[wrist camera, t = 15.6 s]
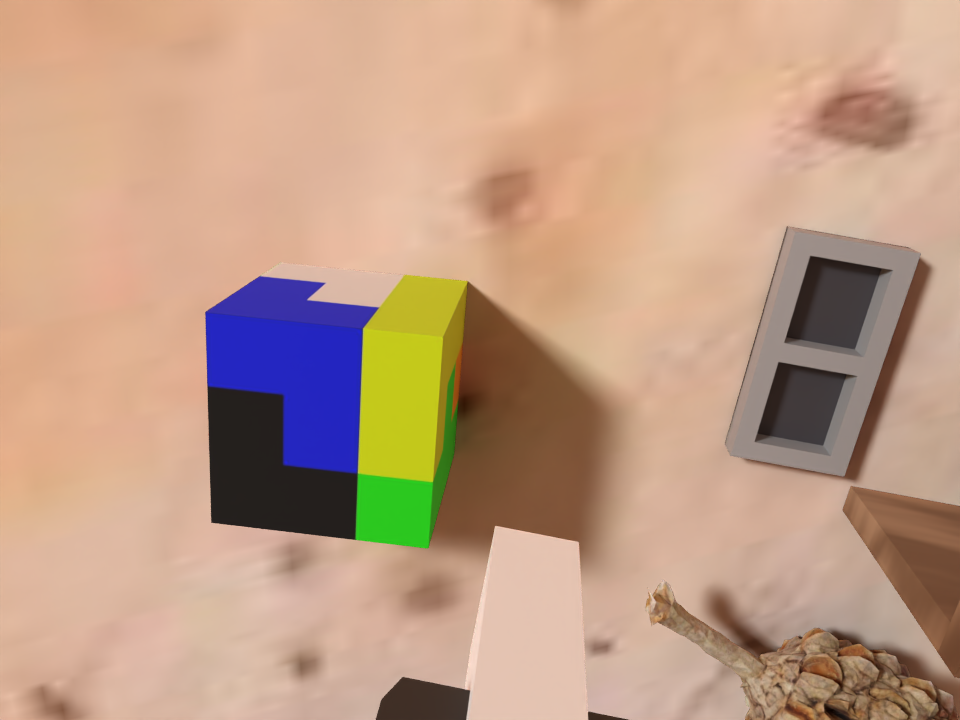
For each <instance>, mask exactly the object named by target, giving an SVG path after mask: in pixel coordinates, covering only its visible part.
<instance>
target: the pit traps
mask: <svg viewBox="0 0 960 720" xmlns="http://www.w3.org/2000/svg"><path fill="white" fill-rule="evenodd" d="M920 255H921V253H919V252H917V251H915V250H912V249H910V248H908V247H902V246H896V245H891V244H885V243H879V242H874V241H868V240H862V239H857V238H851V237H845V236H839V235H834V234H828V233H822V232H817V231H811V230H805V229H799V228H794V227H788V226H787V229H786V232H785V236H784V239H783V243H782V246H781V250H780V253H779V257H778V260H777V264H776V267H775V271H774V274H773V278H772V281H771V285H770V288H769V292H768V295H767V299H766V302H765V306H764V309H763V313H762V316H761V320H760V323H759V327H758V330H757V334H756V337H755V341H754V344H753V348H752V351H751V355H750V358H749V362H748V365H747V369H746V372H745V376H744V379H743V383H742V386H741V389H740V393H739V396H738V400H737V403H736V407H735V410H734V414H733V417H732V421H731V424H730V428H729V431H728V435H727V438H726V442H725V445H726V447H727V449H728V452H729V454H730V456H734V457H740V458H745V459H751V460H756V461H762V462H767V463H773V464H778V465H783V466H789V467H794V468H800V469H805V470H811V471H816V472H821V473H827V474H832V475H838V476H843V477H844V476H845V473H846V470H847V467H848V464H849V461H850V458H851V455H852V453H853V450H854V447H855V444H856V441H857V438H858V435H859V432H860V429H861V426H862V423H863V421H864V418H865V415H866V412H867V409H868V406H869V403H870V400H871V397H872V394H873V392H874V389H875V386H876V383H877V380H878V377H879V374H880V371H881V368H882V365H883V362H884V360H885V357H886V354H887V351H888V348H889V345H890V342H891V339H892V336H893V333H894V330H895V328H896V325H897V322H898V319H899V316H900V313H901V310H902V307H903V304H904V301H905V299H906V296H907V293H908V290H909V287H910V284H911V281H912V278H913V275H914V272H915V269H916V267H917V264H918V261H919V258H920Z"/></svg>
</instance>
